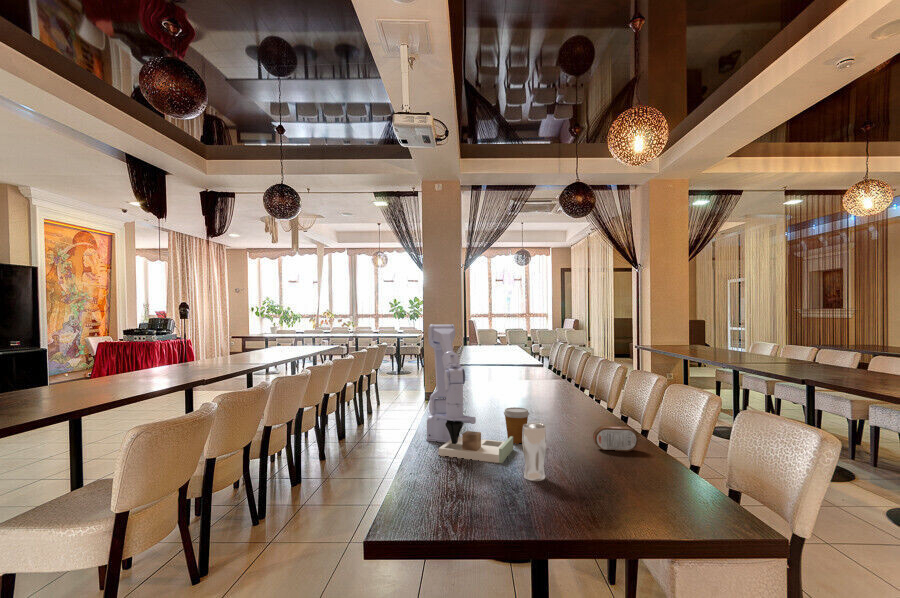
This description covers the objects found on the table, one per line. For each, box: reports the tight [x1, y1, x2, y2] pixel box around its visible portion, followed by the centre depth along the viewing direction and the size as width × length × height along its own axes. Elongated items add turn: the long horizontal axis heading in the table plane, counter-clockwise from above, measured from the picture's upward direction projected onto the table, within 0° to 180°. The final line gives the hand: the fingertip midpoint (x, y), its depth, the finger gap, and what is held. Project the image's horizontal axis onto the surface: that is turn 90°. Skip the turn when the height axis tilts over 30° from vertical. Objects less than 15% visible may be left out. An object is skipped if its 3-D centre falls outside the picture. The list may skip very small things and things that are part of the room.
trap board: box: [438, 436, 514, 464], centre depth 156 cm, size 22×16×4 cm
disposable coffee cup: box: [503, 407, 530, 445], centre depth 169 cm, size 10×10×12 cm
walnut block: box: [461, 430, 482, 451], centre depth 152 cm, size 5×5×5 cm
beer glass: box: [521, 422, 547, 482], centre depth 132 cm, size 7×7×15 cm
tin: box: [592, 425, 639, 452], centre depth 159 cm, size 15×3×8 cm, turn 84°
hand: (454, 443), depth 154 cm, fingers closed
